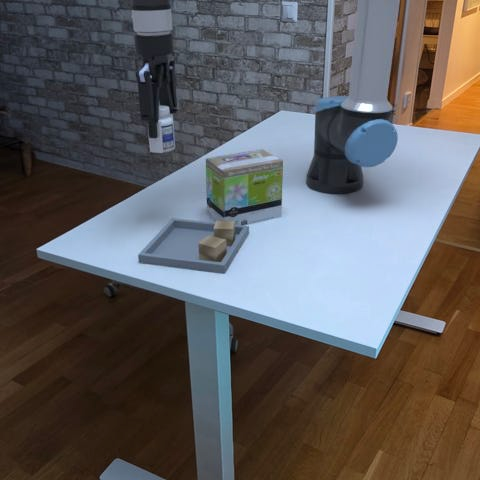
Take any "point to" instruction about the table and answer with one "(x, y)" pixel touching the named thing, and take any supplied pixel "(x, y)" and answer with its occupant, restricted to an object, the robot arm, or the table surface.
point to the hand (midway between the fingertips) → (162, 147)
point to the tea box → (244, 187)
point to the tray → (189, 246)
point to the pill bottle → (167, 129)
